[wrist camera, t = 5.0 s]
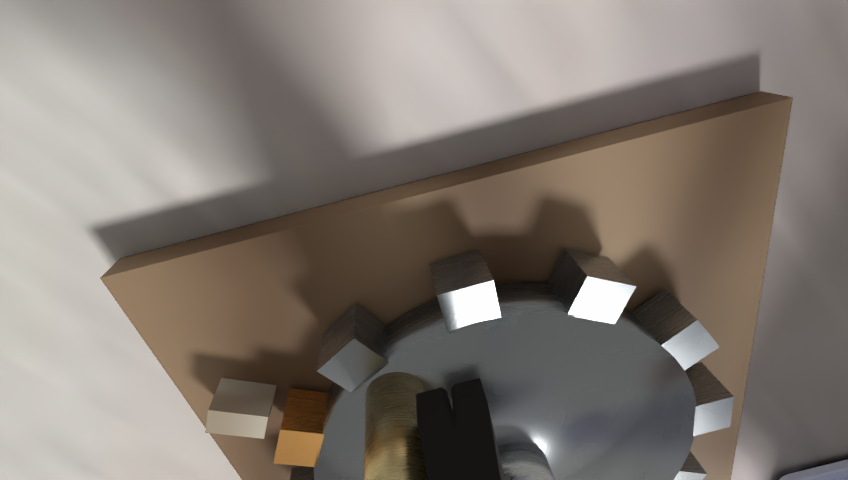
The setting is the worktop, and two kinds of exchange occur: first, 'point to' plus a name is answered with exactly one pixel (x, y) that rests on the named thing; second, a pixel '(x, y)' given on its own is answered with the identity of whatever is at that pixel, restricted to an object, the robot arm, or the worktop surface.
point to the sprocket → (516, 379)
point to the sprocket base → (460, 234)
